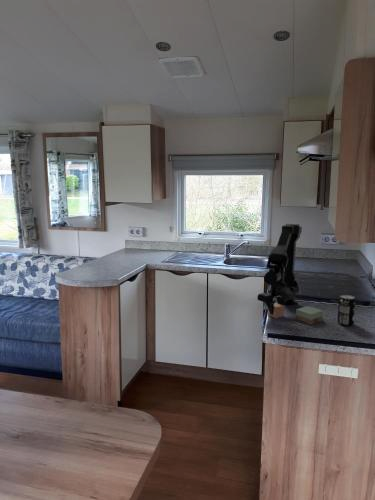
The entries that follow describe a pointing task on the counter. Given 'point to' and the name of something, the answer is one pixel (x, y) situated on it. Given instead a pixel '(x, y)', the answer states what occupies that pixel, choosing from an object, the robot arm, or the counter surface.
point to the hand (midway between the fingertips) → (275, 313)
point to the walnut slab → (309, 319)
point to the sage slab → (309, 312)
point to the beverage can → (346, 310)
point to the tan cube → (277, 311)
